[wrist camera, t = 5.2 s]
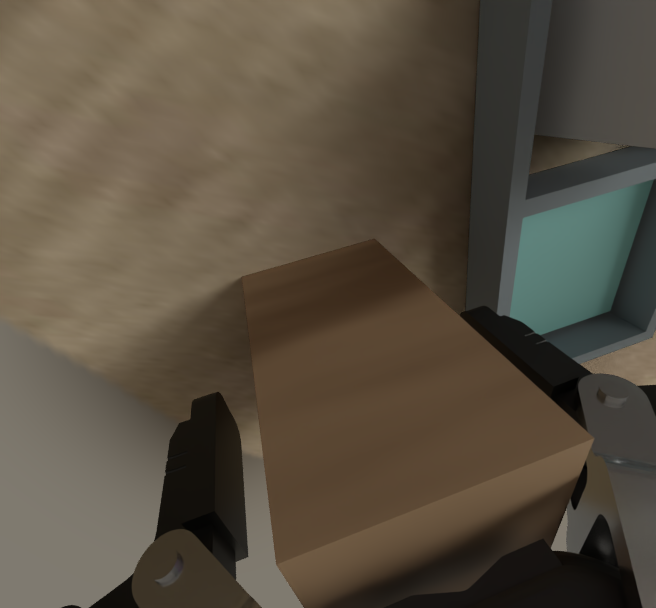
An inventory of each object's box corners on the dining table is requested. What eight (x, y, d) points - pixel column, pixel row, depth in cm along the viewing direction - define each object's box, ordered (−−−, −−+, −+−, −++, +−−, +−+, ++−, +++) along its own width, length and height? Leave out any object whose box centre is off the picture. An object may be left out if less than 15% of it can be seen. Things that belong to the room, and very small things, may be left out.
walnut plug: (241, 276, 12) (276, 564, 5) (374, 238, 13) (595, 438, 5) (278, 377, 15) (337, 659, 7) (386, 341, 15) (542, 569, 8)
